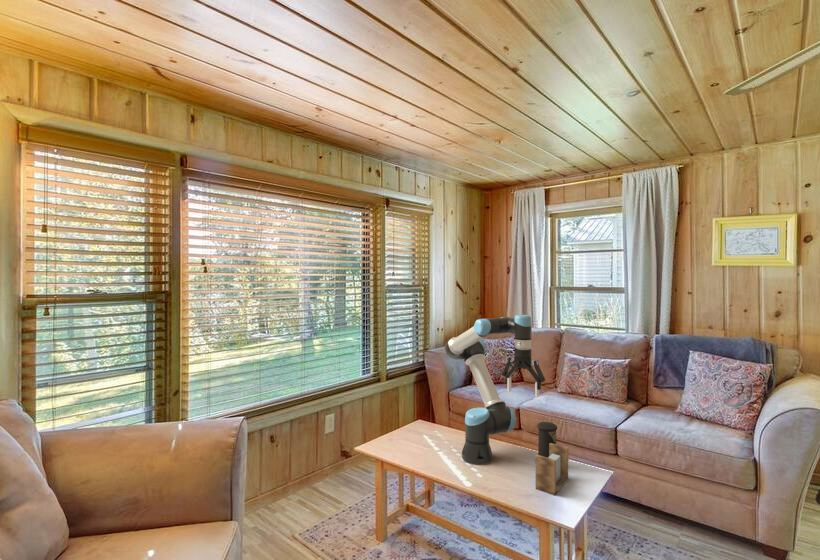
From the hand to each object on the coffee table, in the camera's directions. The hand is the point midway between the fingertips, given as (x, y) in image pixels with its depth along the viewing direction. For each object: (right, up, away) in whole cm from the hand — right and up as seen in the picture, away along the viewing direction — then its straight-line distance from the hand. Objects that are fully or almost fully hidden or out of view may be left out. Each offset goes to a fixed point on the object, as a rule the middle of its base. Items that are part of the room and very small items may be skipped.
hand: (522, 393), depth 190 cm
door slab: (+9, -34, -15) cm, 38 cm away
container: (+12, -35, +2) cm, 37 cm away
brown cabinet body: (+9, -35, -15) cm, 39 cm away
